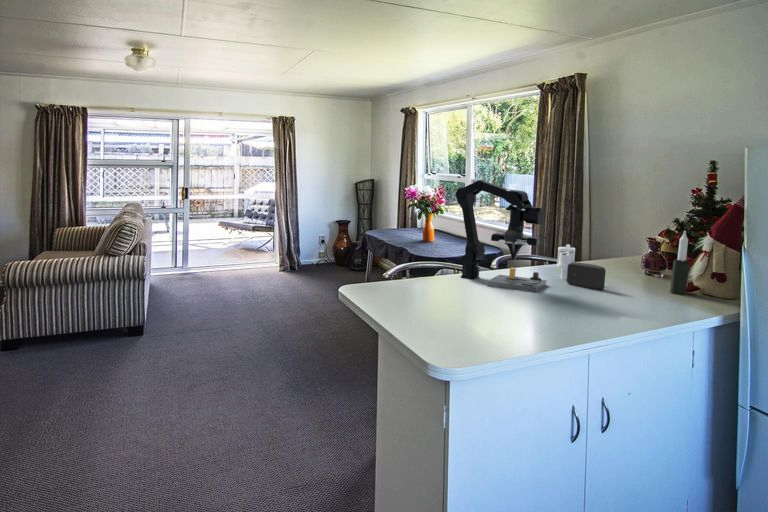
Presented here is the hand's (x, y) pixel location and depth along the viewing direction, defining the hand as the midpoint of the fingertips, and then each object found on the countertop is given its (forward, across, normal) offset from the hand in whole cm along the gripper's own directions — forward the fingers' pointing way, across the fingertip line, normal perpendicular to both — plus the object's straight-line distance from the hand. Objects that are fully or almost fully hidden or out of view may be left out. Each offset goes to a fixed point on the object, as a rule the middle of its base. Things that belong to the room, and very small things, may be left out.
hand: (513, 259), depth 219 cm
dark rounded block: (+10, +27, +13) cm, 32 cm away
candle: (+9, +60, +24) cm, 65 cm away
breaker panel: (+10, +2, 0) cm, 11 cm away
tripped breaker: (+8, 0, 0) cm, 8 cm away
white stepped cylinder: (+10, +16, +25) cm, 32 cm away
